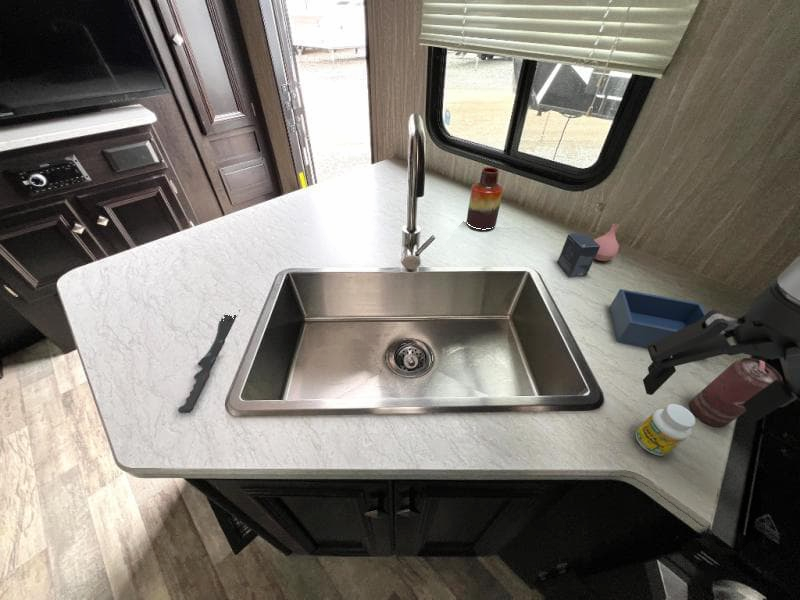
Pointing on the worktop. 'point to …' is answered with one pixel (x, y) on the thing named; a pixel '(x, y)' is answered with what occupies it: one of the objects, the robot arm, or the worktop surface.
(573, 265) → the box
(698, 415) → the can
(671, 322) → the box
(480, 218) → the vase
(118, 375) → the worktop surface
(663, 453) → the supplement bottle
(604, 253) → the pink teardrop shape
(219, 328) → the knife
